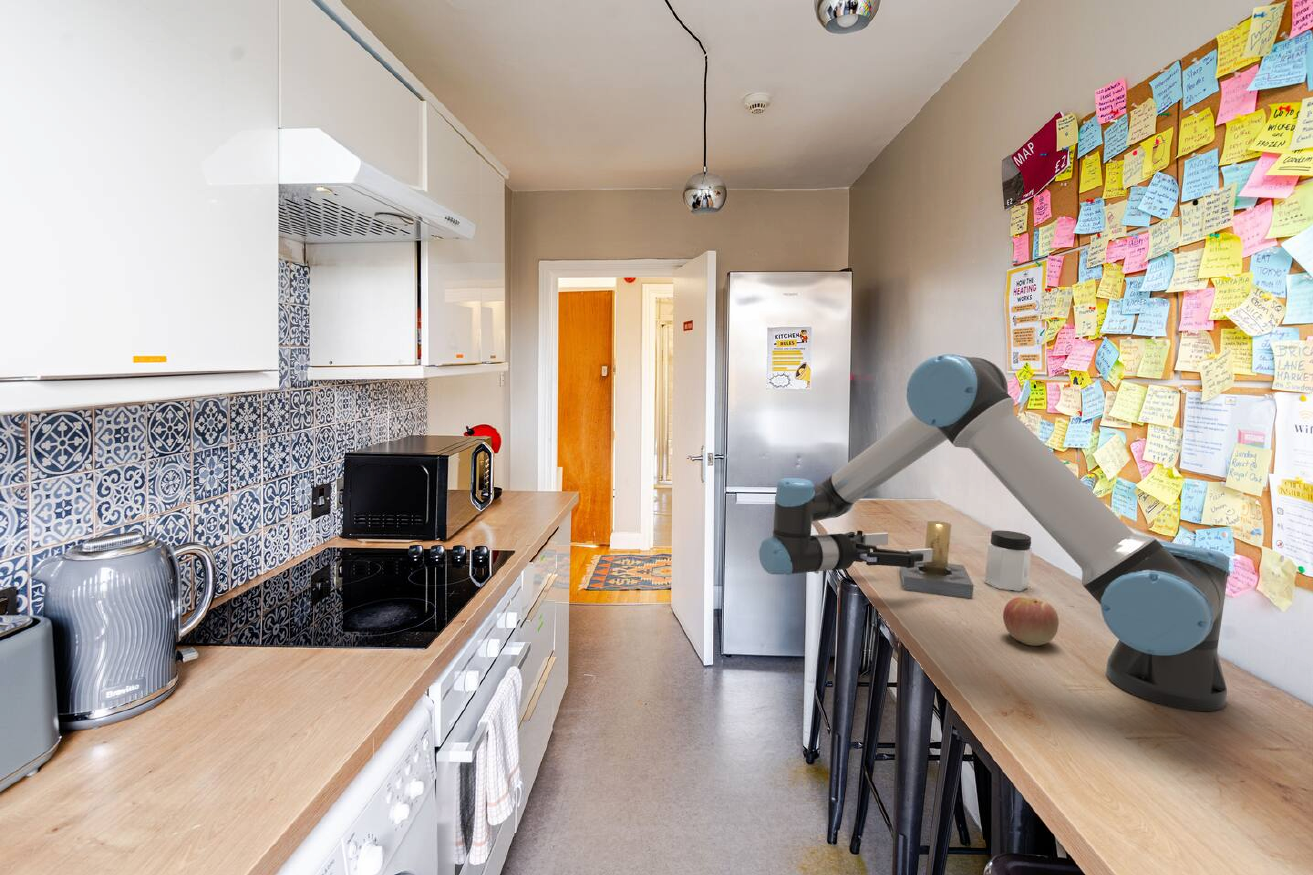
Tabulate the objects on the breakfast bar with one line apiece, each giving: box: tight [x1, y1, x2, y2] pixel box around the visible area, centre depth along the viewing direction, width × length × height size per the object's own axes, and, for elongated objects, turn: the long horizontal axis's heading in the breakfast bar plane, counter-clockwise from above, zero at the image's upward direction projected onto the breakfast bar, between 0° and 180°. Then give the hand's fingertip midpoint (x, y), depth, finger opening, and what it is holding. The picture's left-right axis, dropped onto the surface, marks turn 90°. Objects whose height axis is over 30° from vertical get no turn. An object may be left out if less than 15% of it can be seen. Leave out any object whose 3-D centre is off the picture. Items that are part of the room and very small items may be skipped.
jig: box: [899, 562, 975, 600], centre depth 155 cm, size 16×14×3 cm
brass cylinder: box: [923, 520, 952, 576], centre depth 155 cm, size 5×5×14 cm
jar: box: [984, 529, 1032, 592], centre depth 156 cm, size 9×8×12 cm
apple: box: [1002, 596, 1060, 647], centre depth 123 cm, size 9×9×8 cm
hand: (908, 546), depth 151 cm, fingers open, 13 cm apart
